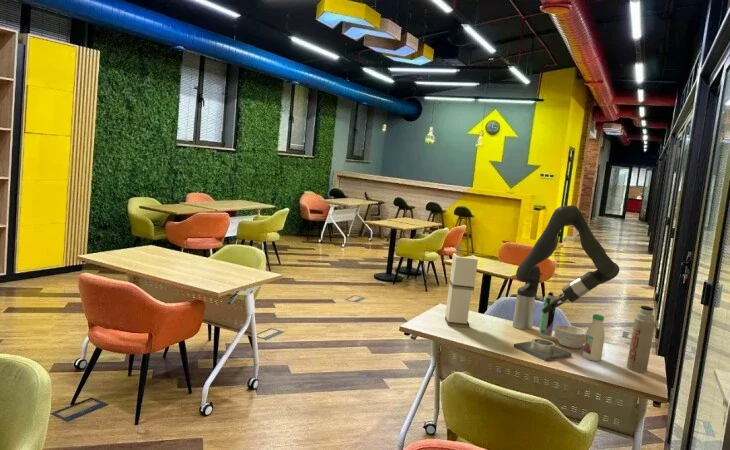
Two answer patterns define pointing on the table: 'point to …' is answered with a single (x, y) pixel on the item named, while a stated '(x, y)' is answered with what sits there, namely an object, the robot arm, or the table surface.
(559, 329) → the paper bowls
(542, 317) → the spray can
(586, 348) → the milk bottle
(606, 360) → the table surface
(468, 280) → the banded white pillar
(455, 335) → the table surface
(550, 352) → the collar plate
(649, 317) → the thermos bottle
